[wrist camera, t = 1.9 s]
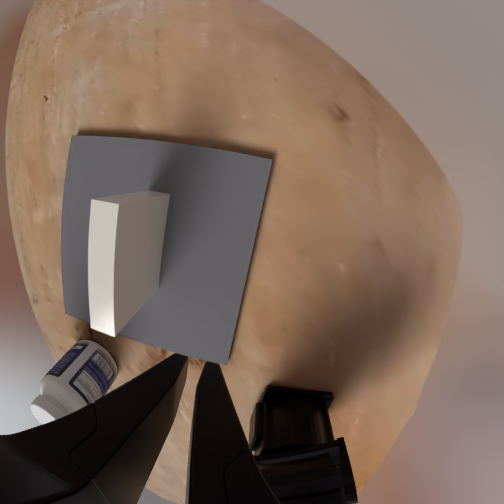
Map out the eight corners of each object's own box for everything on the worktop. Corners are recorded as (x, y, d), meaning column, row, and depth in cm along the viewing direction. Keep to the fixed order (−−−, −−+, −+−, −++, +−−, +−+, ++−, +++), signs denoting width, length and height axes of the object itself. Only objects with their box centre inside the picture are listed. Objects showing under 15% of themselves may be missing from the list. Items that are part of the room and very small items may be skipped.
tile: (170, 194, 17) (118, 204, 11) (158, 288, 19) (114, 337, 13) (147, 190, 17) (89, 198, 11) (137, 282, 19) (88, 327, 13)
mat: (272, 160, 17) (272, 159, 17) (227, 360, 21) (226, 365, 21) (76, 136, 17) (72, 135, 16) (68, 310, 21) (65, 313, 21)
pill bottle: (77, 366, 23) (31, 421, 14) (75, 329, 22) (17, 385, 12) (118, 387, 23) (78, 452, 14) (120, 352, 22) (69, 422, 13)
